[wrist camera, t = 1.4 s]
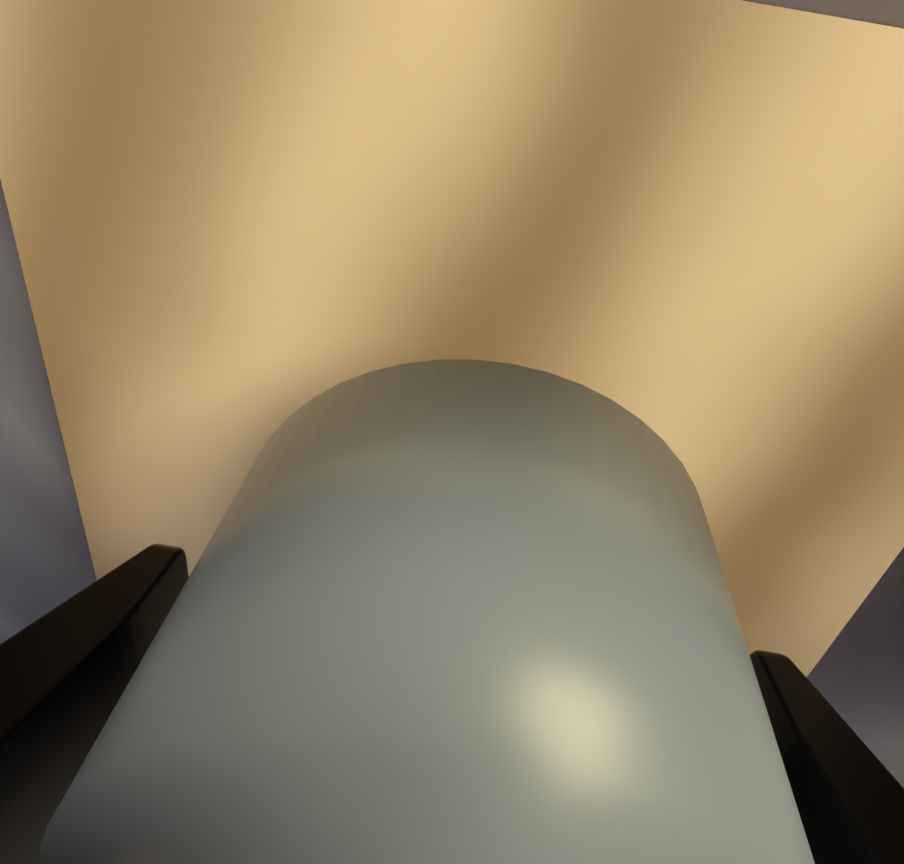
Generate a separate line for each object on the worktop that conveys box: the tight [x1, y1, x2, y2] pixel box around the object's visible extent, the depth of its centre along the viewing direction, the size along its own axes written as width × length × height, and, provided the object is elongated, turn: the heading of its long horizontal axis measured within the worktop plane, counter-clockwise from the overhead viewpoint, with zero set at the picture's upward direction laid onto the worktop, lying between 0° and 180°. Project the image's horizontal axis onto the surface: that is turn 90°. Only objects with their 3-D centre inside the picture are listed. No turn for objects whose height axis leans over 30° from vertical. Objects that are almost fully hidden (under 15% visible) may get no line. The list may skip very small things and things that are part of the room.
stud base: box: [0, 0, 904, 677], centre depth 12 cm, size 16×15×4 cm
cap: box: [40, 359, 815, 864], centre depth 8 cm, size 7×7×5 cm
